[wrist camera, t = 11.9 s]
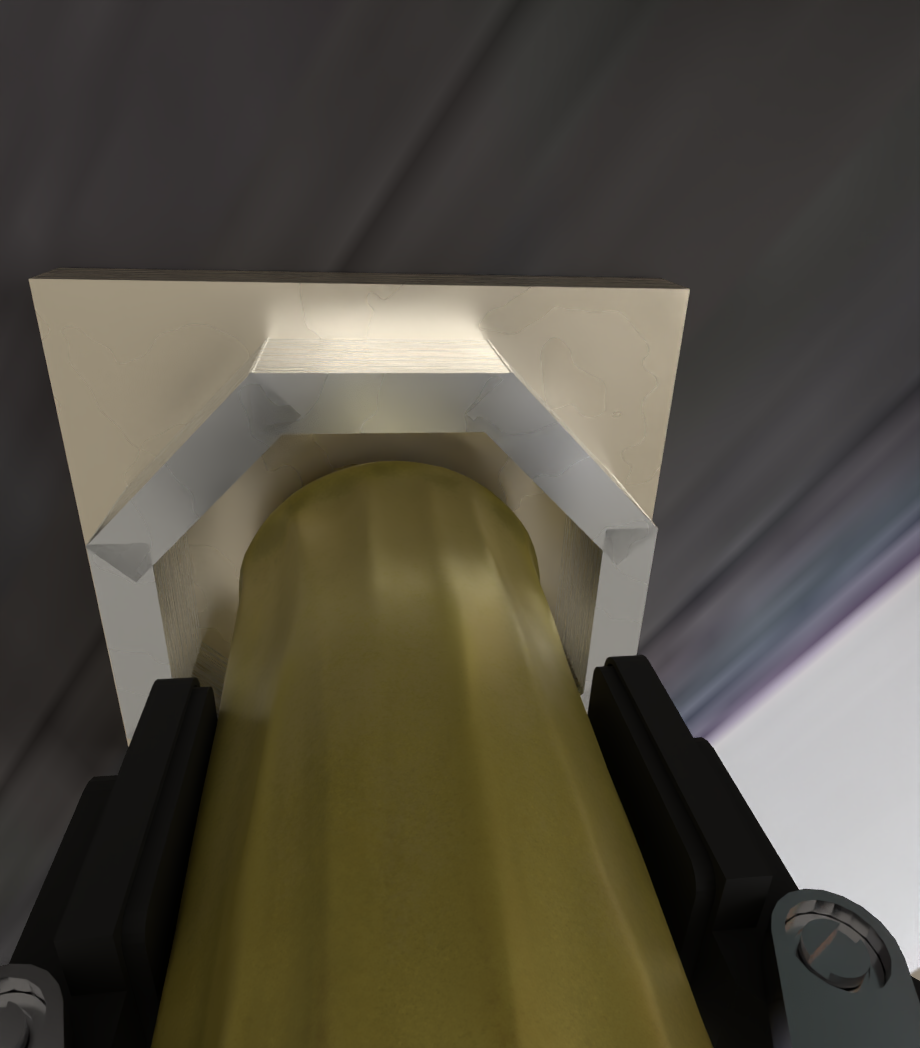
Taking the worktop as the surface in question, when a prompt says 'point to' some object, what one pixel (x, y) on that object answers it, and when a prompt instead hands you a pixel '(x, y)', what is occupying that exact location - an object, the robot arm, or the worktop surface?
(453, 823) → the vase
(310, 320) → the ring stand
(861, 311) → the worktop surface
